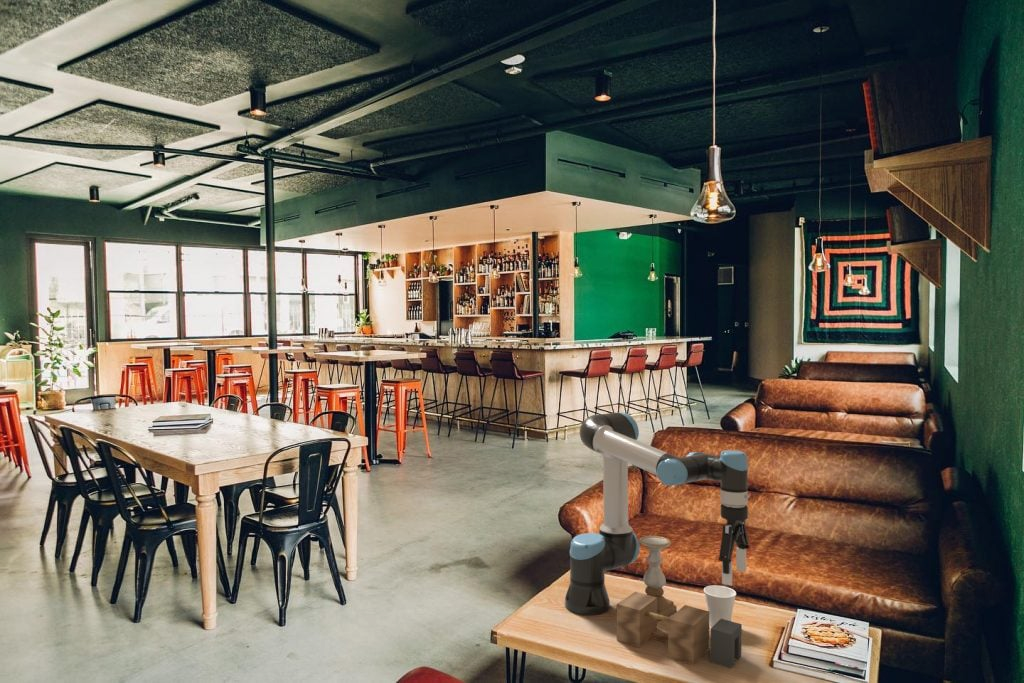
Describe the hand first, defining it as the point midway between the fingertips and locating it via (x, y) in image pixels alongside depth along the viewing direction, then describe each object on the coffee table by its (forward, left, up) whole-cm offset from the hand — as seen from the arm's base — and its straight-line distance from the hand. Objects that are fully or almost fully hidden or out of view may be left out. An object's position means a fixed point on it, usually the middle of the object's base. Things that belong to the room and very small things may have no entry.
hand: (734, 577), depth 188 cm
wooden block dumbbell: (-18, -10, -21) cm, 30 cm away
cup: (-9, +13, -22) cm, 27 cm away
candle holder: (-30, +10, -22) cm, 38 cm away
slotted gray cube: (0, -7, -21) cm, 22 cm away
